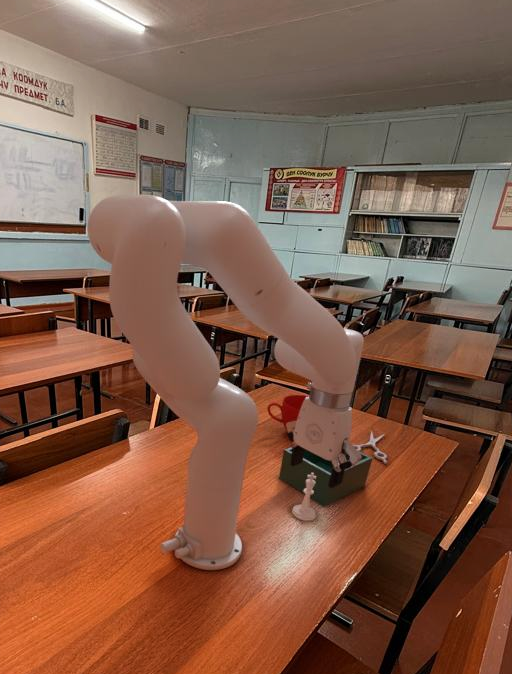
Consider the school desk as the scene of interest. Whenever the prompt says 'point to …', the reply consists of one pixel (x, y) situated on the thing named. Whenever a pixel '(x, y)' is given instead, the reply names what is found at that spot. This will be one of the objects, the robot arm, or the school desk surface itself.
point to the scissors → (372, 444)
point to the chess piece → (306, 502)
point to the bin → (324, 475)
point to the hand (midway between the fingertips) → (314, 474)
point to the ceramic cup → (289, 408)
